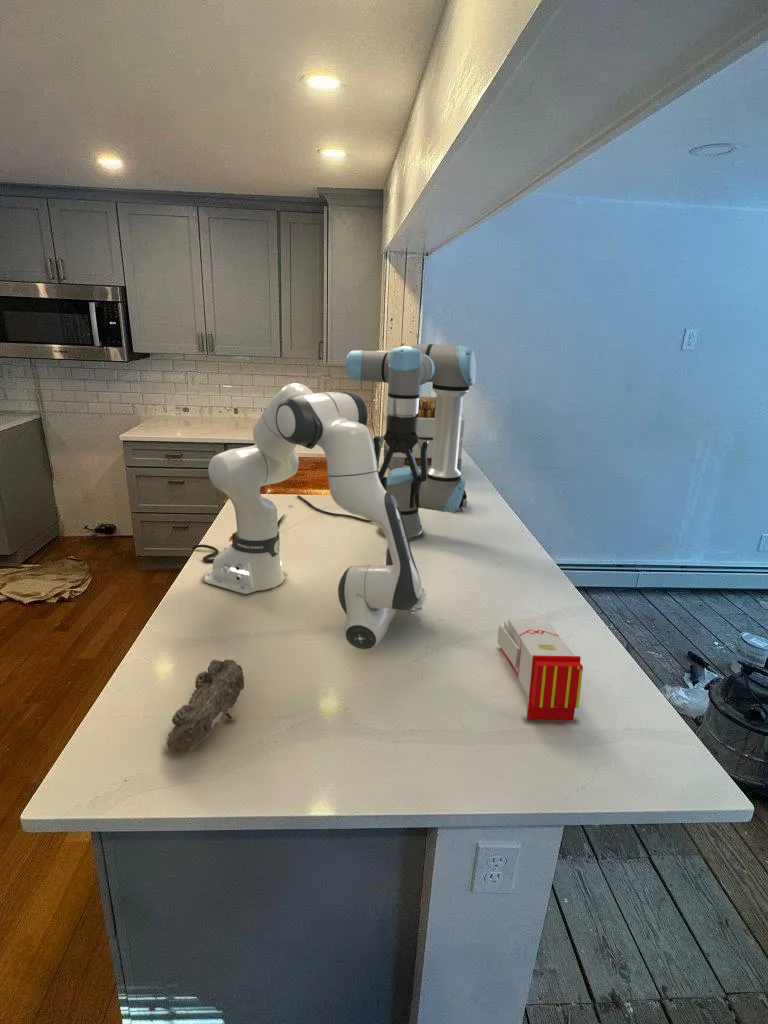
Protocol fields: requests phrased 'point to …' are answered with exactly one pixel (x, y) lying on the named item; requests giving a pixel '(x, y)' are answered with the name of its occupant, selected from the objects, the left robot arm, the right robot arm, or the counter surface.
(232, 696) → the fossil
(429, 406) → the light boxy container
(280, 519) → the feather
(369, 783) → the counter surface
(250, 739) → the counter surface
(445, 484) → the right robot arm
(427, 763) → the counter surface
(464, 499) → the figurine character
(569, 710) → the toy
